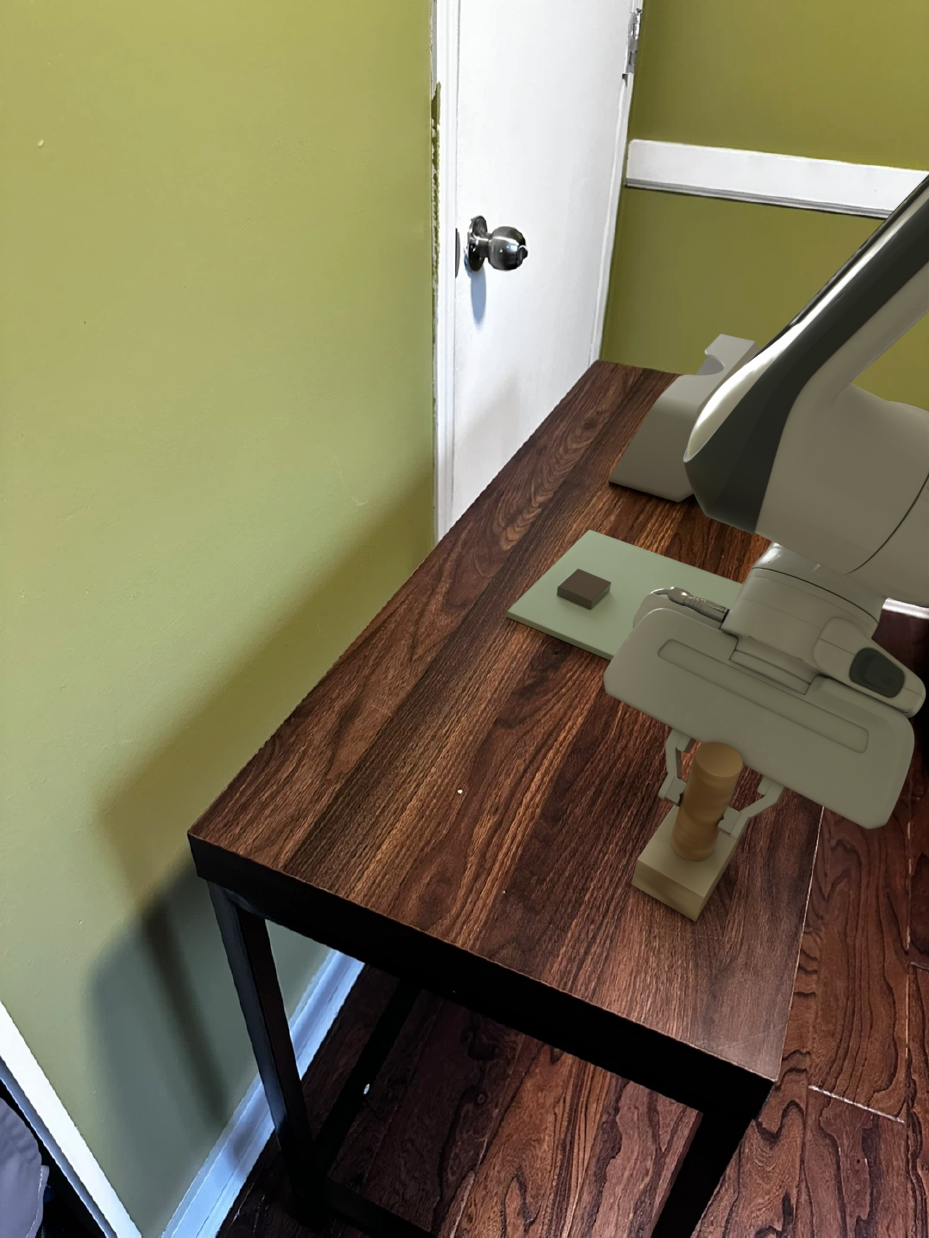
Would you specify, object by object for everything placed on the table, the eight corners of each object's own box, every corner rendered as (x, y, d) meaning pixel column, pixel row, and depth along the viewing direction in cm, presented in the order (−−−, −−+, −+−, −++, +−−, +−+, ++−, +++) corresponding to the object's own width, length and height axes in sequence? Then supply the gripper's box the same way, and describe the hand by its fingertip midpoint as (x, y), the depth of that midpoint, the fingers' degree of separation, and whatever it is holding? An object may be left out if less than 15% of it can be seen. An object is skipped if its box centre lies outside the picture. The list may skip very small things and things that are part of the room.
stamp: (734, 853, 64) (776, 743, 56) (695, 921, 59) (735, 812, 52) (672, 820, 66) (704, 710, 58) (630, 884, 61) (659, 774, 54)
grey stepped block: (731, 523, 100) (757, 425, 92) (604, 485, 106) (618, 389, 98) (785, 439, 117) (812, 350, 109) (673, 410, 123) (690, 323, 115)
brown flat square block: (610, 591, 88) (611, 581, 87) (590, 610, 85) (592, 601, 84) (576, 577, 89) (577, 567, 89) (556, 595, 87) (557, 585, 86)
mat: (761, 597, 89) (763, 591, 88) (697, 697, 77) (698, 691, 76) (588, 535, 97) (589, 529, 96) (506, 617, 85) (506, 610, 85)
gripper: (645, 565, 60) (554, 741, 60) (952, 698, 50) (844, 906, 50) (664, 587, 65) (581, 748, 66) (944, 709, 56) (846, 897, 56)
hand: (697, 818), depth 58 cm, fingers closed on stamp, 3 cm apart
